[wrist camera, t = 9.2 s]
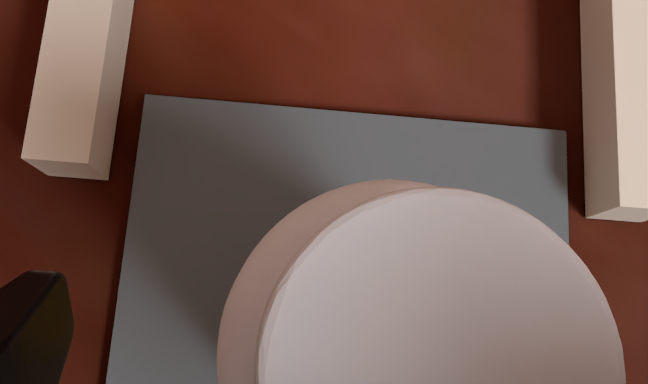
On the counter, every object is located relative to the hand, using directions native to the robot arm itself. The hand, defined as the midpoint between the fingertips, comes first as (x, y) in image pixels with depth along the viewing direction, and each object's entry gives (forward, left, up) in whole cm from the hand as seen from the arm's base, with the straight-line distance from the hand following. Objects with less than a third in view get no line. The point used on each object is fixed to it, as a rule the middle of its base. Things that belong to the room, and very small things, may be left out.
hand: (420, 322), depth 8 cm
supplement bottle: (0, 0, -9) cm, 9 cm away
